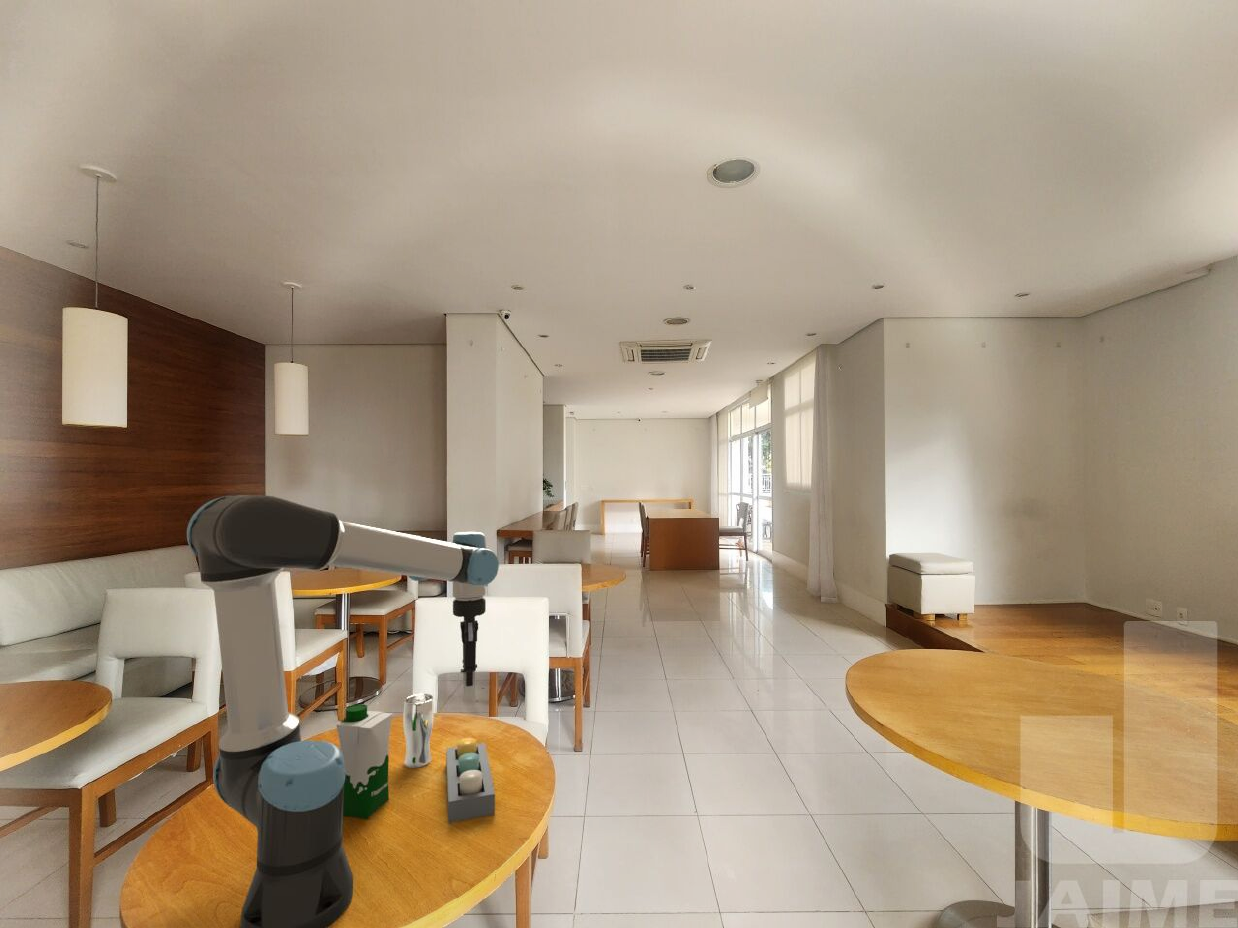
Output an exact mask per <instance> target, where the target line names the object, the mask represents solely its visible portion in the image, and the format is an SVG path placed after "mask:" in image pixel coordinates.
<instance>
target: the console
mask: <svg viewBox="0 0 1238 928" xmlns="http://www.w3.org/2000/svg"><path fill="white" fill-rule="evenodd" d="M486 745H487V744H486V742H481V743H477V754H478V755H479V771H481V772H482V791H481V793H476V794H470V795H464V796H461V795H460V776H459V775H458V763H459V759H457V746H453V747H446V748H445V750H446V751H445V753H446V754H445V755H446V756H445V757H446V758H445V761H446V762H445V767H446V772H445V773H446V797H447V799H446V800H447V824H449V823H454V822H460V821H464V820H465V821H466V820H471V819H476V818H477V819H478V818H483V817H487V816H488V817H489V816H492V815H495V814H496V792H495V788H494V781H493V776H492V772H491V767H490V762H489V756H488V751H487V746H486Z"/></svg>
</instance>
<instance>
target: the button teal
mask: <svg viewBox="0 0 1238 928" xmlns="http://www.w3.org/2000/svg"><path fill="white" fill-rule="evenodd" d="M468 770H479V755H478V754H476V753H466V754H463V755H461V756H460V757H459V763H458V775H459V776H460V775H461V774H462V773H463V772H465V771H468Z"/></svg>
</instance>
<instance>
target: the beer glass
mask: <svg viewBox="0 0 1238 928" xmlns="http://www.w3.org/2000/svg"><path fill="white" fill-rule="evenodd" d="M403 703H404V705H403V713H402V716H403V717H402V721H403V722H402V725H403V733H404V739H405V744H406V747H405V748H406V749H405V750H406V751H405V758H404V761H403V763H404V766H405V767H406V768H409V769H417V768H422V767H425V766H426V765H428V764H430V763H431V761H432V755H431V749H430V744H431V743H430V742H431V738H432V737H431V736H432V733H433V732H432V731H433V726H434V718H435V717H434V716H435V714H434V713H435V712H434V710H435V709H434V696H433V695H432V694H430V693H429V694H428V693H417V694H412V695H409V696H407V697H406V698H405V699H404V702H403Z"/></svg>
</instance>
